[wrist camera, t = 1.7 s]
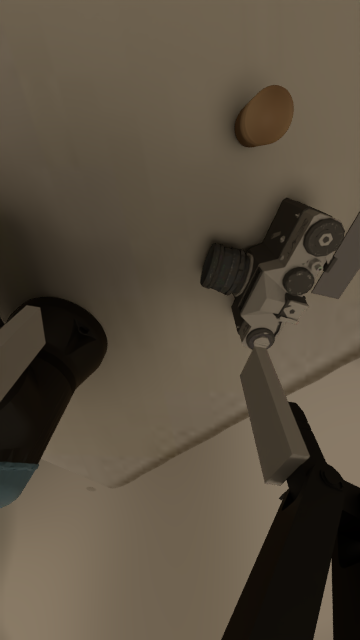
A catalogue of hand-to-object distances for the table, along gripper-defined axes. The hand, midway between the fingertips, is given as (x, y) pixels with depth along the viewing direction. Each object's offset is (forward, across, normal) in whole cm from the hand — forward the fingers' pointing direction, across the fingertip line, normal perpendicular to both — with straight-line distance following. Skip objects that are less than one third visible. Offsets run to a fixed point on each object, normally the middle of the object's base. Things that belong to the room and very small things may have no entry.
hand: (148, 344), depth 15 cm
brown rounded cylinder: (+19, +6, +14) cm, 24 cm away
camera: (+19, +10, +1) cm, 21 cm away
